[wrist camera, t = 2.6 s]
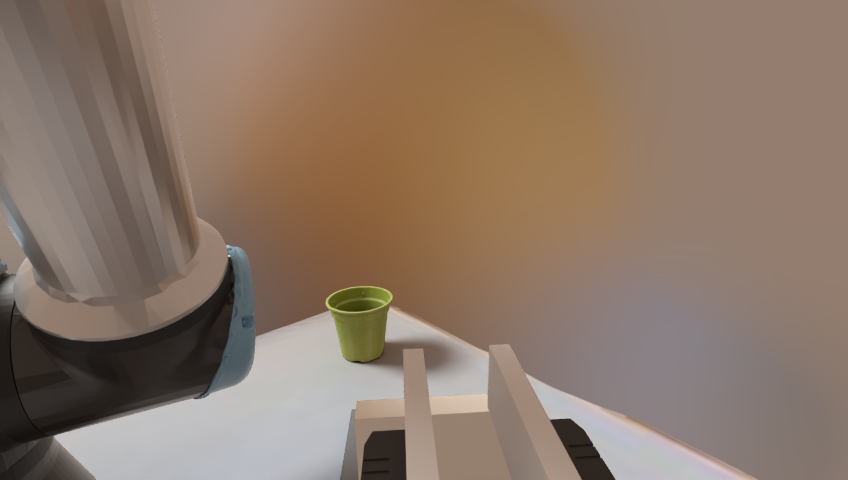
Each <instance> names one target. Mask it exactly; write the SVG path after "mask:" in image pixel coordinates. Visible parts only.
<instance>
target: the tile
mask: <svg viewBox="0 0 848 480" xmlns="http://www.w3.org/2000/svg"><path fill="white" fill-rule="evenodd" d="M429 401H430V409H431V417H432V425H433V433H434V441H435V449H436V457H437V466H438V474H439V480H512V479H511V476H510V473H509V470H508V467H507V464H506V461H505V458H504V455H503V452H502V449H501V446H500V443H499V440H498V437H497V434H496V431H495V428H494V425H493V422H492V419H491V416H490V413H489V410H488V407H487V405H488V394H476V395H457V396H439V397H429ZM354 422H355V436H356V450H357V464H358V478H359V480H361V471H362V463H363V452H364V444H365V443H366V441H367V439H368V438H369V436H370V435H371V433H372V431H386V430H403V429H405V404H404V398H402V399H383V400H365V401H357V404H356V411H355V418H354Z"/></svg>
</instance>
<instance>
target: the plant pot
mask: <svg viewBox="0 0 848 480" xmlns="http://www.w3.org/2000/svg"><path fill="white" fill-rule="evenodd" d="M392 299H393V296H392V294H391V293H390V292H389V291H388V290H386V289H383V288H378V287H372V286H371V287H370V286H361V287H351V288H347V289H343V290H340V291H338V292H335V293H333V294H332V295H330V296H329V297H328V298H327V300H326V306H327V308H328V309H329V310H330V311H331V314H332V316H333V317H334V321H335V325H336V329H337V333H338V337H339V342H340V346H341V350H342V354H343V356H344V358H345V359H347V360H349V361H361V362H367V361H371V360H374V359H376V358H378V357H379V356H380V355H381V354H382V352H383V350H384V343H385V331H386V321H387V312H388V310H389V306H390V303H391V302H392Z"/></svg>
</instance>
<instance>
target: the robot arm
mask: <svg viewBox="0 0 848 480" xmlns="http://www.w3.org/2000/svg"><path fill="white" fill-rule="evenodd" d="M0 214H1V216H2V217H3V219H4V220H5V222H6V224H7V225H8V227H9V229H10V230H11V232H12V233H13V235H14V236H15V238H16V240H17V241H18V243H19V245H20V246H21V248H22V249H23V251H24V253H25V254H26V256H27V258H26V259H25V260H24V262H23V263H22V265H21V266H20V268H19V270H18V272H17V274H11V275H9V274H7V273H5V271H6V270H7V265H6V264H5V263H3V262H2V261H1V259H0V480H96V479H95V478H94V476H93V475H92V474H91V473H90V472H89V471H88V470H87V469H86V468H85V467H83V466H82V465H81V464H80V463H79V462H78V461H77V460H76V459H75V458H74V457H73V456H72V455H71V454H70V453H69V452H68V451H67V450H66V449H65V448H64V447H63V446H62V445H61V444H60V443H59V442H58V441H57V440H56V439H55V438H54V435H57V434H61V433H64V432H68V431H72V430H75V429H79V428H83V427H87V426H90V425H94V424H98V423H102V422H105V421H109V420H113V419H116V418H120V417H124V416H128V415H131V414H135V413H139V412H143V411H146V410H150V409H154V408H157V407H161V406H165V405H169V404H172V403H176V402H180V401H184V400H188V399H192V398H194V399H201V398H205V397H207V396H208V395H209V394H210V393H213V392H216V391H219V390H222V389H225V388H228V387H231V386H234V385H236V384H238V383H240V382H241V381H242V380H244V379H245V378H246V376H247V375H248V374H249V372H250V370H251V367H252V364H253V359H254V353H255V322H254V320H253V318H254V308H255V302H254V290H253V282H252V275H251V269H250V265H249V261H248V258H247V255H246V253H245V252H244V251H243V250H242V249H241V248H239V247H231V246H228V245H226V244H225V242H224V240H223V238H222V237H221V235H220V234H219V232H218V231H217V230H216V229H215V228H214V227H212V226H211V225H210V224H208V223H207V222H205V221H203V220H201V219H200V218H197V215H196V210H195V206H194V201H193V197H192V191H191V186H190V181H189V176H188V171H187V166H186V161H185V156H184V152H183V147H182V142H181V137H180V132H179V127H178V122H177V117H176V113H175V108H174V103H173V98H172V93H171V88H170V83H169V78H168V73H167V68H166V64H165V58H164V53H163V48H162V44H161V39H160V34H159V29H158V24H157V19H156V14H155V10H154V4H153V0H0ZM403 369H404V404H405V429H403V430H386V431H372V433H371V435H370V436H369V438H368V439H367V441H366V443H365V444H364V452H363V463H362V471H361V480H439V474H438V466H437V457H436V449H435V441H434V433H433V425H432V417H431V409H430V401H429V392H428V384H427V376H426V368H425V360H424V352H423V348H417V349H403ZM487 407H488V410H489V413H490V416H491V419H492V422H493V425H494V428H495V431H496V434H497V437H498V440H499V443H500V446H501V449H502V452H503V455H504V458H505V461H506V464H507V467H508V470H509V473H510V476H511V479H512V480H615V478H614V476H613V475H612V473H611V472H610V470H609V469H608V467H607V465H606V464H605V462H604V461H603V459H602V458H600V454H599V453H598V451H597V450H596V448H595V447H593V443H592V442H591V440H590V439H589V437H588V436H587V434H586V432H585V431H584V430H583V429H582V428H581V427H580V426H578V425H577V424H576V423H575V422H574V421H572V420H571V419H554V420H549V418H548V416H547V414H546V412H545V410H544V408H543V407H542V405H541V403H540V401H539V399H538V397H537V395H536V394H535V392H534V390H533V388H532V386H531V384H530V382H529V380H528V379H527V377H526V375H525V373H524V371H523V369H522V368H521V366H520V364H519V362H518V360H517V358H516V356H515V354H514V353H513V351H512V349H511V347H510V345H509V344H503V345H490V346H489V374H488V405H487Z"/></svg>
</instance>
